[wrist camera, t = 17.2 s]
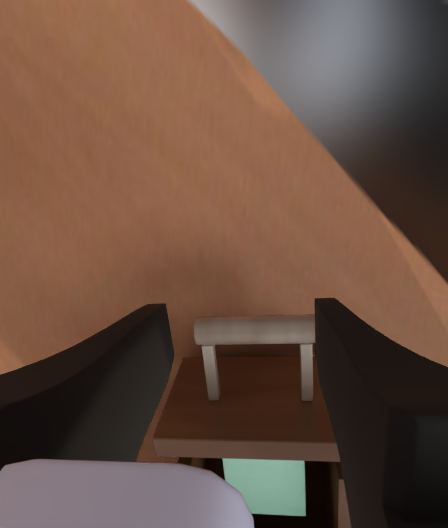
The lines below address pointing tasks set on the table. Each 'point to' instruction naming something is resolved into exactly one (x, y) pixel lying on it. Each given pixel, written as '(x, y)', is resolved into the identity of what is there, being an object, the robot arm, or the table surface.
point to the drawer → (257, 412)
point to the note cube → (269, 485)
